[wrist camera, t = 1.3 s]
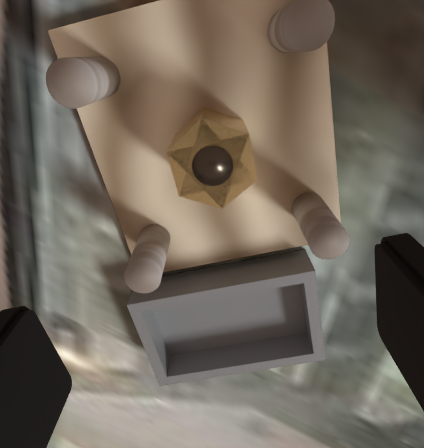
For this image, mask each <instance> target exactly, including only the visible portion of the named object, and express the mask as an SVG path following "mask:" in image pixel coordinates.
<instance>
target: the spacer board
mask: <svg viewBox="0 0 424 448" xmlns="http://www.w3.org/2000/svg"><path fill="white" fill-rule="evenodd" d="M334 25H335V13H334V9H333V7H332V5H331V3H330V2H329V0H159V1H155V2H151V3H148V4H144V5H140V6H137V7H133V8H129V9H125V10H122V11H118V12H114V13H111V14H107V15H103V16H99V17H96V18H92V19H88V20H85V21H81V22H77V23H74V24H70V25H66V26H62V27H59V28H55V29H51V30H48V33H49V36H50V39H51V41H52V44H53V47H54V49H55V52H56V55H57V57H58V59H57V60H55V61H54V62H52V64H51V65H50V66H49V68H48V70H47V73H46V84H47V88H48V90H49V93H50V94H51V96H52V97H53V98H54V99H55V100H56V101H57V102H58V103H59V104H61V105H62V106H64V107H67V108H73V109H76V108H77V111H78V113H79V116H80V119H81V121H82V124H83V127H84V129H85V132H86V135H87V137H88V140H89V143H90V145H91V148H92V151H93V153H94V156H95V159H96V161H97V164H98V167H99V169H100V172H101V175H102V177H103V180H104V183H105V185H106V188H107V191H108V193H109V196H110V199H111V201H112V204H113V207H114V209H115V212H116V215H117V217H118V220H119V223H120V225H121V228H122V231H123V233H124V236H125V239H126V241H127V244H128V247H129V249H130V252H131V257H130V260H129V262H128V265H127V267H126V270H125V272H124V281H125V283H126V285H127V286H128V287H129V288H130V289H131V290H133V291H135V292H138V293H150V292H152V291H154V290H156V289H157V288H158V287H159V285H160V283H161V278H162V274H163V272H168V271H173V270H178V269H184V268H189V267H194V266H199V265H205V264H210V263H215V262H220V261H226V260H231V259H236V258H241V257H247V256H252V255H257V254H263V253H268V252H273V251H278V250H284V249H289V248H294V247H299V246H305V245H309V247H310V249H311V251H312V253H313V254H314V255H315V256H317V257H318V258H321V259H333V258H336V257H338V256H340V255H342V254H343V253H344V252H345V251H346V249H347V248H348V246H349V242H350V238H349V234H348V232H347V231H346V230H345V228H344V227H343V226H342V224H341V221H340V208H339V194H338V181H337V168H336V155H335V142H334V129H333V116H332V103H331V89H330V76H329V63H328V50H327V41H328V39H329V38H330V36H331V34H332V32H333V29H334ZM203 107H206V108H209V109H212V110H215V111H218V112H221V113H224V114H227V115H230V116H233V117H236V118H239V119H242V120H243V121H244V123H245V125H246V127H247V130H248V132H249V135H250V141H251V146H252V152H253V158H254V163H255V169H256V175H257V181H255V182H254V183H253V184H252V185H251V186H249V187H248V188H247V189H246V190H245V191H243V192H242V193H241V194H240V195H239V196H238V197H236V198H235V199H234V200H233V201H232V202H230V203H229V204H228V205H227V206H226V207H224V208H223V209H221V208H217V207H214V206H210V205H207V204H204V203H200V202H197V201H193V200H190V199H186V198H183V197H179V195H178V191H177V188H176V184H175V181H174V177H173V174H172V170H171V167H170V163H169V160H168V156H167V153H166V152H167V150H168V148H169V146H170V144H171V142H172V140H173V137H174V135H175V134H176V133H177V132H178V131H180V130H181V129H182V128H183V127H184V126H185V125H186V124H187V123H188V122H189V121H190V120H191V119H192V118H193V117H194V116H195V115H196V114H197V113H198V112H199V111H200V110H201V109H202V108H203Z"/></svg>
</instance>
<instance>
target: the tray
mask: <svg viewBox="0 0 424 448" xmlns="http://www.w3.org/2000/svg"><path fill="white" fill-rule="evenodd" d="M127 307H128V310H129V312H130V315H131V317H132V320H133V322H134V324H135V327H136V329H137V332H138V334H139V337H140V339H141V341H142V344H143V346H144V349H145V351H146V354H147V356H148V359H149V361H150V363H151V366H152V368H153V371H154V373H155V376H156V378H157V380H158V383H159V385H160V386H162V385H168V384H175V383H181V382H187V381H194V380H200V379H206V378H213V377H219V376H225V375H232V374H238V373H245V372H251V371H257V370H264V369H270V368H276V367H283V366H289V365H295V364H302V363H308V362H314V361H321V360H326V358H325V350H324V341H323V333H322V324H321V316H320V308H319V299H318V291H317V282H316V274H315V269H314V267H313V265H312V263H311V261H310V259H309V257H308V254H307V252H306V250H305V249H304V250H298V251H293V252H288V253H283V254H277V255H272V256H267V257H261V258H256V259H251V260H246V261H240V262H235V263H230V264H224V265H219V266H214V267H209V268H203V269H198V270H193V271H187V272H182V273H177V274H172V275H166V276H162V278H161V283H160V285H159V287H158V288H157V289H156V290H154V291H152V292H150V293H138V292H135V291H133V290H132V291H131V294H130V297H129V300H128V303H127Z"/></svg>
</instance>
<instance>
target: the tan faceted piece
mask: <svg viewBox="0 0 424 448" xmlns="http://www.w3.org/2000/svg"><path fill="white" fill-rule="evenodd" d="M166 153H167V156H168V160H169V163H170V167H171V170H172V174H173V177H174V181H175V184H176V188H177V191H178V195H179V197H183V198H186V199H190V200H193V201H197V202H200V203H204V204H207V205H210V206H214V207H217V208H221V209H223V208H224V207H226V206H227V205H228V204H229V203H230V202H232V201H233V200H234V199H235V198H236V197H238V196H239V195H240V194H241V193H242V192H243V191H245V190H246V189H247V188H248V187H249V186H251V185H252V184H253V183H254V182H255V181H257V175H256V169H255V163H254V158H253V152H252V146H251V141H250V135H249V132H248V130H247V127H246V125H245V123H244V121H243V120H242V119H239V118H236V117H233V116H230V115H227V114H224V113H221V112H218V111H215V110H212V109H209V108H206V107H203V108H202V109H201V110H200V111H199V112H198V113H197V114H196V115H195V116H194V117H193V118H192V119H191V120H190V121H189V122H188V123H187V124H186V125H185V126H184V127H183V128H182V129H181V130H180V131H178V132H177V133H176V134H175V135H174V137H173V140H172V142H171V144H170V146H169V148H168V150H167V152H166Z"/></svg>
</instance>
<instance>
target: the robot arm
mask: <svg viewBox="0 0 424 448" xmlns="http://www.w3.org/2000/svg"><path fill="white" fill-rule="evenodd" d="M375 276H376V304H377V327H378V331H379V335H380V337H381V339H382V341H383V343H384V344H385V346H386V348H387V350H388V351H389V353H390V355H391V356H392V358H393V360H394V361H395V363H396V365H397V367H398V368H399V370H400V372H401V373H402V375H403V377H404V378H405V380H406V382H407V384H408V385H409V387H410V389H411V390H412V392H413V394H414V396H415V397H416V399H417V401H418V402H419V404H420V406H421V407H422V409H423V411H424V247H423V246H422V245H421V244H420V243H418V242H417V241H416V240H415V239H414V238H413V237H412V236H411V235H410V234H408V233H404V234H398V235H393V236H388V237H383V238H382V240H381V244H376V245H375ZM71 387H72V380H71V376H70V374H69V372H68V371H67V369H66V367H65V365H64V363H63V362H62V360H61V358H60V356H59V355H58V353H57V351H56V349H55V347H54V346H53V344H52V342H51V340H50V338H49V337H48V335H47V333H46V331H45V330H44V328H43V326H42V324H41V322H40V321H39V319H38V317H37V315H36V314H35V312H34V311H32V310H29V309H28V308H27V307H25V306H20V307H15V308H10V309H5V310H2V311H1V312H0V448H46V447H47V445H48V442H49V440H50V438H51V435H52V433H53V431H54V428H55V426H56V424H57V421H58V419H59V416H60V414H61V412H62V409H63V407H64V405H65V402H66V400H67V398H68V395H69V393H70V391H71Z"/></svg>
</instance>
